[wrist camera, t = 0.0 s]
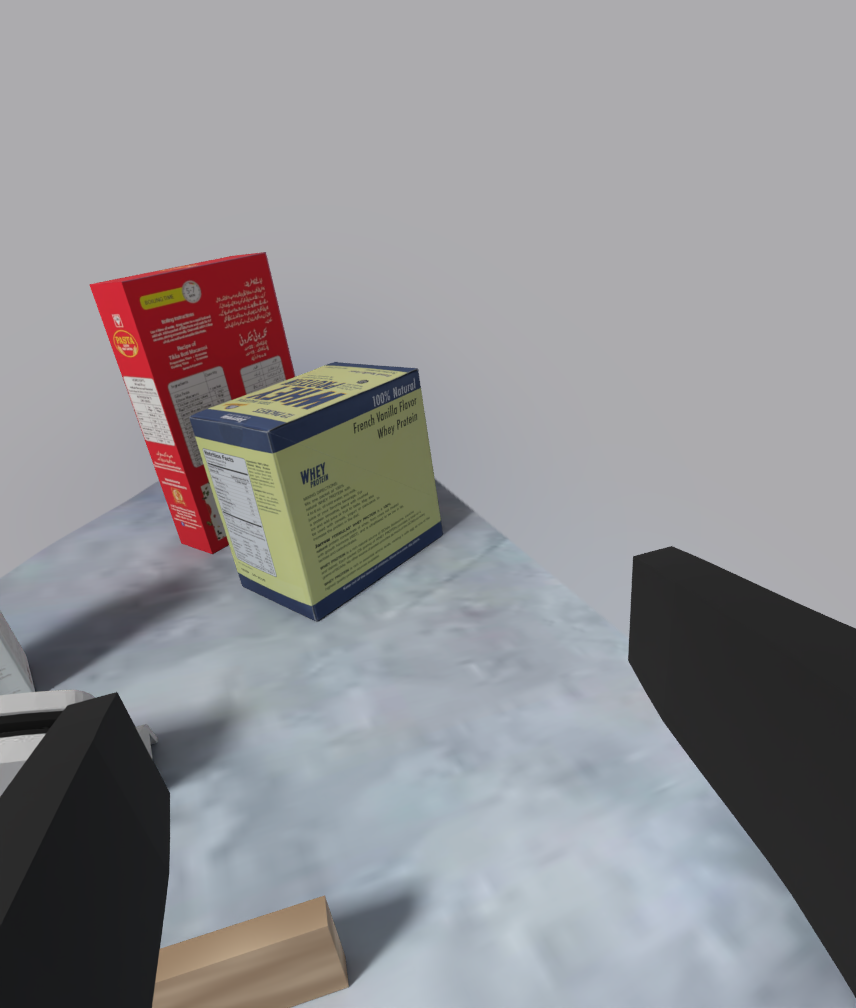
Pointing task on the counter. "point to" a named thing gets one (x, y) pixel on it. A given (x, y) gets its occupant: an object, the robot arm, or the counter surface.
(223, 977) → the wooden corner frame
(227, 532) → the protein box
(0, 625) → the skincare box
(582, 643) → the counter surface
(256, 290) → the food packaging
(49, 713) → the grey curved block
